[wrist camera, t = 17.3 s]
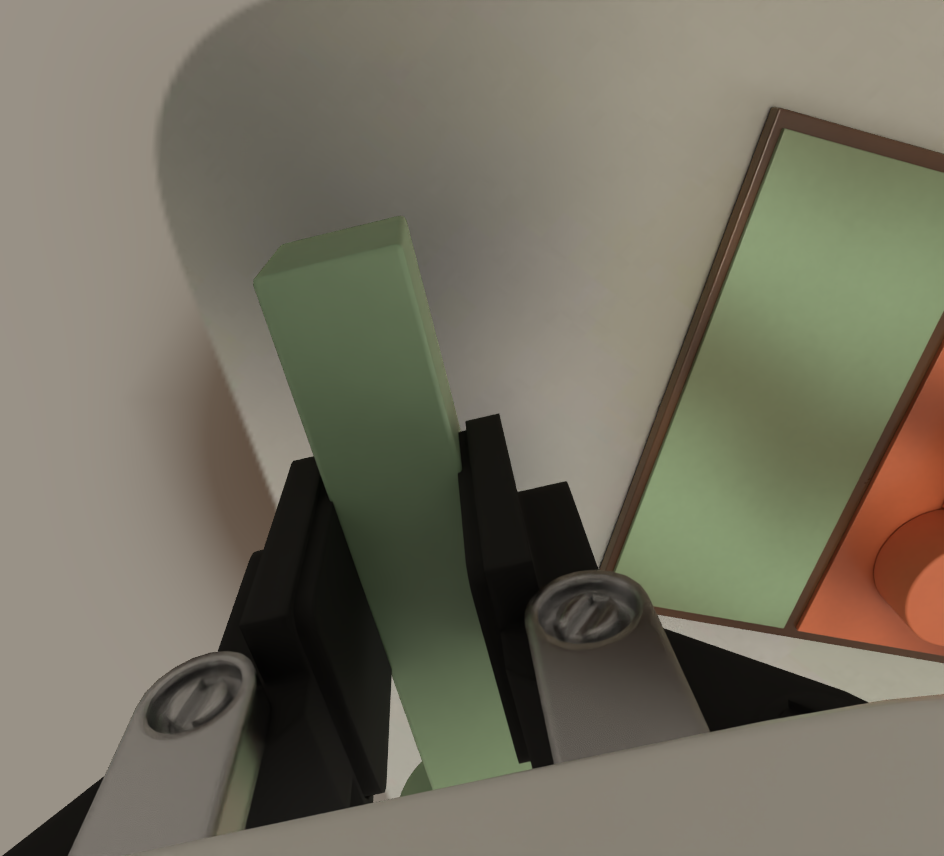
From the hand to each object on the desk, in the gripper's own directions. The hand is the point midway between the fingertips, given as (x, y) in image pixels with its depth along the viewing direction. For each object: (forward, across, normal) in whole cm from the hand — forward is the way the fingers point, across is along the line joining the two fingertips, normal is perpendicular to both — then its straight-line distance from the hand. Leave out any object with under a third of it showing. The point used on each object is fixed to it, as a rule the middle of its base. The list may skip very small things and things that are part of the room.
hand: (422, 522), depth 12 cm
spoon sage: (+1, 0, +2) cm, 3 cm away
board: (+14, -15, +9) cm, 22 cm away
